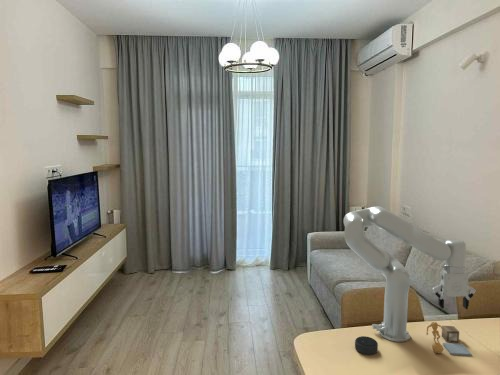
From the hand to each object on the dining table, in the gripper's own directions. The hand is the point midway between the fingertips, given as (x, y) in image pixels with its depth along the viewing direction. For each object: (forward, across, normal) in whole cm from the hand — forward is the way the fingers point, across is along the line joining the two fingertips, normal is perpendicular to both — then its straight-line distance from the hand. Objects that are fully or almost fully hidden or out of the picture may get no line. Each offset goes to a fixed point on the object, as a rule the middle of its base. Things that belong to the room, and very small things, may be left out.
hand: (453, 307), depth 159 cm
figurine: (+14, -11, -11) cm, 21 cm away
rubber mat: (+14, -2, -9) cm, 17 cm away
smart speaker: (+14, -39, -13) cm, 43 cm away
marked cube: (+14, -1, 0) cm, 14 cm away
